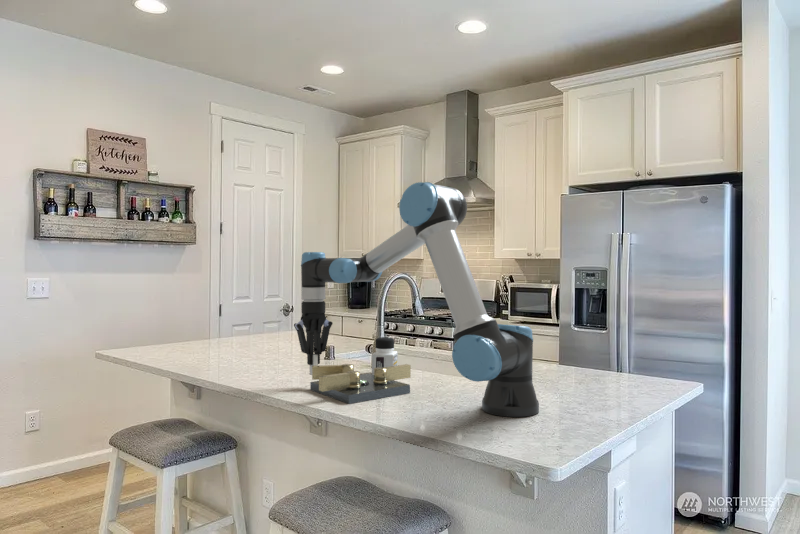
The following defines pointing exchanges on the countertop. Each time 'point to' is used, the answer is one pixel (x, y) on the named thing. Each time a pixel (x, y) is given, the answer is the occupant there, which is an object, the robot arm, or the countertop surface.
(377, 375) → the knob
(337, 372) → the brass lever handle
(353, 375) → the knob
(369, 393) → the tribrach plate
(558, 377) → the countertop surface
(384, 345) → the container
